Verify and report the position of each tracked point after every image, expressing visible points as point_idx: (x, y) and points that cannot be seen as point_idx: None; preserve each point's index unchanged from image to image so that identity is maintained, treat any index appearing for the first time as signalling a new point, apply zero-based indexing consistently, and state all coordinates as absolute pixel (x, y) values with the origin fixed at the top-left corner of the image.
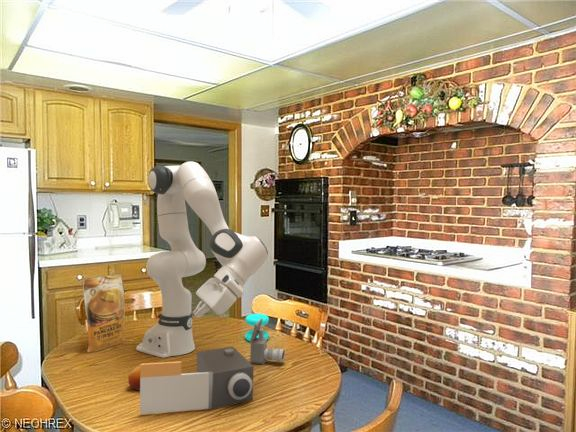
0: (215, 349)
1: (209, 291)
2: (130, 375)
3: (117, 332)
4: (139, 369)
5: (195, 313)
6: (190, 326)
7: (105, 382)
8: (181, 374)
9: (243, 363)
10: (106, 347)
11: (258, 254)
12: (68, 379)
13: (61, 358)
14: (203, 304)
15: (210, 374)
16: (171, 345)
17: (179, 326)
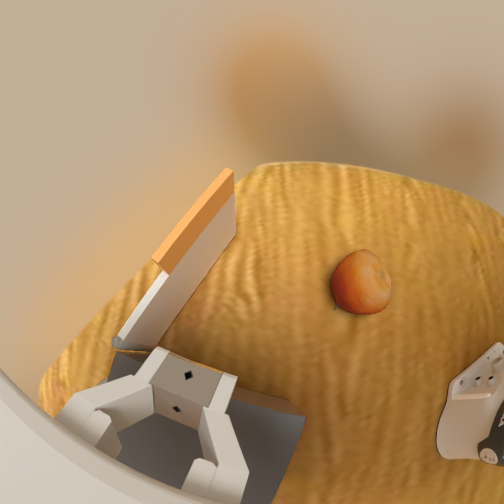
0: (280, 471)
1: None
2: (361, 250)
3: None
4: (357, 262)
5: (160, 355)
6: (481, 456)
7: (406, 242)
8: (164, 274)
9: (119, 453)
10: None
11: None
12: (438, 204)
13: (500, 227)
14: (102, 429)
15: (113, 338)
16: (463, 403)
17: (491, 427)
